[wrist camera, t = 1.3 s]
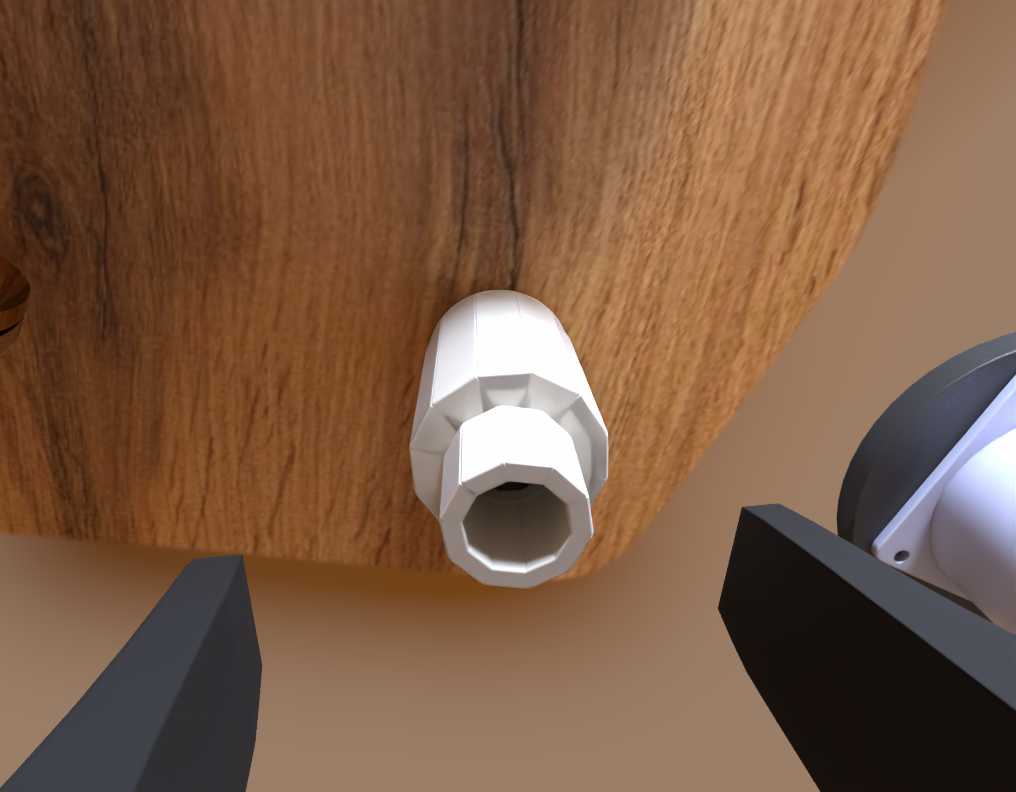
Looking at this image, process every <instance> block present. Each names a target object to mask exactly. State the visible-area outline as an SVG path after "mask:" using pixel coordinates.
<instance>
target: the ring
mask: <svg viewBox="0 0 1016 792" xmlns="http://www.w3.org/2000/svg"><path fill="white" fill-rule="evenodd" d="M29 295H30V285H29V282H28V280H27V279H26V277H25V276H24V275H23V274H22V272H21V271H20V270H19V269H17V268H16V267H15V266H14V265H13V264H11V263H10V262H9V261H7V260H6V259H4V258H3V257H1V256H0V354H2V353H3V352H4V351H6V350H7V349H8V348H9V347H10V346H11V345H12V344H13V343H14V342H15V341H16V339H17V338H18V336H19V334H20V332H21V328H22V324H23V320H24V316H25V313H26V310H27V306H28V300H29Z"/></svg>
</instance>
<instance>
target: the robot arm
mask: <svg viewBox="0 0 1016 792" xmlns="http://www.w3.org/2000/svg"><path fill="white" fill-rule="evenodd" d="M871 551H872V554H873V555H874V556H875V557H876V558H875V557H873V556H872V555H870V554H868V553H866V552H865V551H863V550H861V549H860V548H858V547H856V546H854V545H853V544H851V543H849V542H848V541H846V540H844V539H842V538H841V537H839V536H837V535H835V534H834V533H832V532H830V531H829V530H827V529H825V528H823V527H822V526H820V525H818V524H816V523H815V522H813V521H811V520H809V519H807V518H806V517H804V516H802V515H800V514H798V513H796V512H794V511H792V510H790V509H788V508H786V507H784V506H782V505H780V504H769V505H759V506H747V507H742V509H741V513H740V517H739V522H738V526H737V530H736V534H735V538H734V543H733V547H732V551H731V555H730V560H729V564H728V568H727V572H726V576H725V581H724V585H723V589H722V593H721V597H720V602H719V607H718V610H719V612H720V614H721V617H722V619H723V621H724V624H725V626H726V628H727V631H728V633H729V635H730V638H731V640H732V642H733V644H734V646H735V648H736V651H737V653H738V655H739V657H740V659H741V661H742V663H743V665H744V667H745V669H746V671H747V673H748V675H749V676H750V678H751V680H752V681H753V683H754V685H755V687H756V688H757V690H758V691H759V693H760V695H761V696H762V698H763V700H764V701H765V703H766V705H767V706H768V708H769V709H770V711H771V713H772V715H773V716H774V717H775V719H776V721H777V723H778V724H779V726H780V727H781V729H782V731H783V732H784V734H785V736H786V737H787V739H788V740H789V742H790V744H791V745H792V747H793V748H794V750H795V751H796V753H797V755H798V756H799V758H800V760H801V761H802V763H803V764H804V766H805V768H806V769H807V771H808V772H809V774H810V776H811V777H812V779H813V781H814V782H815V783H816V785H817V787H818V789H819V790H820V792H1016V375H1015V376H1014V377H1013V378H1012V380H1011V381H1010V382H1009V383H1008V384H1007V385H1006V387H1005V388H1004V389H1003V390H1002V391H1001V392H1000V394H999V395H998V396H997V397H996V398H995V399H994V401H993V402H992V403H991V404H990V405H989V407H988V408H987V409H986V410H985V411H984V412H983V414H982V415H981V416H980V417H979V418H978V419H977V421H976V422H975V423H974V424H973V425H972V426H971V428H970V429H969V430H968V431H967V432H966V434H965V435H964V436H963V437H962V438H961V439H960V441H959V442H958V443H957V444H956V445H955V446H954V448H953V449H952V450H951V451H950V452H949V453H948V455H947V456H946V457H945V458H944V459H943V460H942V462H941V463H940V464H939V465H938V466H937V468H936V469H935V470H934V471H933V472H932V473H931V475H930V476H929V477H928V478H927V479H926V480H925V482H924V483H923V484H922V485H921V486H920V487H919V489H918V490H917V491H916V492H915V493H914V495H913V496H912V497H911V498H910V499H909V500H908V502H907V503H906V504H905V505H904V506H903V507H902V509H901V510H900V511H899V512H898V513H897V514H896V516H895V517H894V518H893V519H892V520H891V522H890V523H889V524H888V525H887V526H886V527H885V529H884V530H883V531H882V532H881V533H880V534H879V536H878V537H877V538H876V539H875V540H874V542H873V543H872V545H871ZM900 551H901V553H899V554H898V555H896V554H897V553H898V552H900ZM891 566H892V567H894V568H896V569H898V570H901V571H903V572H905V573H908V574H910V575H912V576H914V577H917V578H919V579H921V580H924V581H926V582H928V583H930V584H933V585H935V586H937V587H939V588H942V589H944V590H946V591H949V592H951V593H953V594H955V595H958V596H960V597H962V598H965V599H967V600H969V601H971V602H973V603H974V604H975V605H976V606H977V607H978V608H979V609H980V610H981V611H982V612H983V613H984V614H985V615H986V616H987V617H988V618H989V619H990V620H991V621H992V622H993V623H992V622H990V621H988V620H986V619H984V618H982V617H980V616H978V615H977V614H975V613H973V612H971V611H969V610H967V609H965V608H963V607H962V606H960V605H958V604H956V603H954V602H952V601H951V600H949V599H947V598H945V597H943V596H942V595H940V594H938V593H936V592H934V591H933V590H931V589H929V588H927V587H925V586H924V585H922V584H920V583H918V582H917V581H915V580H913V579H911V578H910V577H908V576H906V575H904V574H903V573H901V572H899V571H897V570H896V569H894V568H892V567H891ZM261 673H262V662H261V656H260V651H259V645H258V640H257V634H256V628H255V623H254V617H253V612H252V607H251V600H250V595H249V589H248V584H247V578H246V572H245V567H244V562H243V556H242V555H232V556H221V557H211V558H200V559H193V560H192V561H191V562H190V563H189V564H188V565H187V566H186V567H185V568H184V570H183V571H182V572H181V573H180V575H179V576H178V577H177V579H176V580H175V581H174V582H173V584H172V585H171V586H170V588H169V589H168V590H167V592H166V593H165V594H164V596H163V597H162V598H161V600H160V601H159V602H158V604H157V605H156V606H155V608H154V609H153V610H152V611H151V613H150V614H149V615H148V616H147V618H146V619H145V620H144V622H143V623H142V624H141V625H140V627H139V628H138V629H137V631H136V632H135V633H134V634H133V636H132V637H131V638H130V639H129V641H128V642H127V643H126V645H125V646H124V647H123V648H122V649H121V651H120V652H119V653H118V654H117V655H116V657H115V658H114V659H113V660H112V661H111V663H110V664H109V665H108V667H107V668H106V669H105V670H104V671H103V672H102V674H101V675H100V676H99V677H98V678H97V680H96V681H95V682H94V683H93V684H92V686H91V687H90V688H89V689H88V690H87V692H86V693H85V694H84V695H83V696H82V698H81V699H80V700H79V701H78V702H77V704H76V705H75V706H74V707H73V708H72V709H71V710H70V712H69V713H68V714H67V715H66V716H65V717H64V718H63V719H62V721H61V722H60V723H59V724H58V725H57V726H56V727H55V728H54V729H53V730H52V732H51V733H50V734H49V735H48V736H47V737H46V738H45V740H43V742H42V743H41V744H40V745H39V746H38V747H37V748H36V749H35V750H34V752H33V753H32V754H31V755H30V756H29V757H28V758H27V759H26V760H25V762H24V763H23V764H22V765H21V766H20V767H19V768H18V769H17V770H16V772H15V773H14V774H13V775H12V776H11V777H10V778H9V779H8V780H7V781H6V782H5V783H4V784H3V786H1V788H0V792H245V791H246V787H247V782H248V776H249V772H250V767H251V762H252V757H253V751H254V746H255V740H256V730H257V720H258V709H259V698H260V685H261Z"/></svg>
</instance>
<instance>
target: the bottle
mask: <svg viewBox="0 0 1016 792" xmlns="http://www.w3.org/2000/svg"><path fill="white" fill-rule="evenodd" d="M409 454H410V462H411V469H412V477H413V484H414V491H415V493H416V495H417V496H418V498H419V499H420V500H421V501H422V502H423V503H424V505H425V506H426V507H427V508H428V509H429V510H430V512H431V513H432V514H433V515H434V516H435V517H436V519H437V520H438V521H439V524H440V528H441V532H442V536H443V540H444V544H445V548H446V552H447V556H448V558H449V559H450V561H452V562H453V563H454V564H456V565H457V566H458V567H460V568H461V569H462V570H464V571H465V572H466V573H468V574H469V575H470V576H472V577H473V578H474V579H476V580H477V581H479V582H480V583H482V584H484V585H490V586H501V587H513V588H525V589H527V588H528V587H529V588H532V587H534V586H536V585H538V584H541V583H543V582H546V581H548V580H550V579H552V578H555V577H557V576H559V575H561V574H564V573H566V572H568V571H569V570H570V569H572V567H573V566H574V564H575V563H576V561H577V560H578V558H579V557H580V555H581V554H582V552H583V550H584V549H585V547H586V546H587V544H588V543H589V541H590V540H591V538H592V536H593V525H592V517H591V510H590V506H591V504H592V503H593V501H594V500H595V498H596V496H597V495H598V493H599V492H600V490H601V489H602V487H603V486H604V484H605V482H606V481H607V478H608V433H607V430H606V427H605V425H604V422H603V420H602V417H601V415H600V412H599V410H598V407H597V405H596V402H595V400H594V398H593V395H592V393H591V390H590V388H589V385H588V383H587V380H586V378H585V375H584V373H583V370H582V368H581V365H580V363H579V360H578V358H577V355H576V353H575V350H574V348H573V346H572V343H571V341H570V339H569V337H568V335H567V334H566V332H565V331H564V329H563V327H562V325H561V323H560V322H559V320H558V319H557V317H556V316H555V315H554V313H553V312H552V311H551V310H550V309H549V308H548V307H546V306H545V305H544V304H542V303H541V302H540V301H538V300H536V299H535V298H533V297H531V296H528V295H526V294H523V293H520V292H516V291H510V290H489V291H483V292H479V293H476V294H473V295H471V296H468V297H466V298H464V299H463V300H461V301H459V302H458V303H456V304H455V305H454V306H452V307H451V308H450V309H449V310H448V311H447V312H446V313H445V314H444V315H443V316H442V318H441V319H440V320H439V322H438V323H437V325H436V327H435V329H434V331H433V333H432V336H431V339H430V342H429V344H428V346H427V348H426V353H425V359H424V364H423V370H422V376H421V382H420V388H419V394H418V399H417V405H416V411H415V417H414V423H413V428H412V434H411V440H410V446H409Z"/></svg>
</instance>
